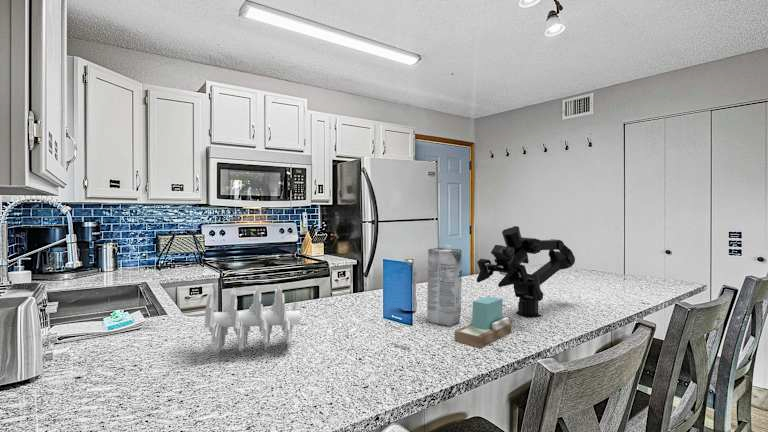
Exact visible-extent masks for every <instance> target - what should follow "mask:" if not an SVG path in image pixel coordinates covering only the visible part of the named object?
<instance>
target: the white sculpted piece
mask: <svg viewBox="0 0 768 432" xmlns="http://www.w3.org/2000/svg"><path fill="white" fill-rule="evenodd" d="M258 287H259V285H255V290H253V301H252V303H251V305H250V306H249V307H248V308H249V309H248V310H247V311H238V298H237V291H236V288H235V287H232V289H231V293H230V301H229V305H228V307H226V311H214V297H213V294H214V293H213V289H212V287H209V289H208V290H209V291H208V294H207V295H208V296H207V300H206V304H205V310H204V312H205V314H204V328H205V329H206V328H208V329H209V331H208V332H209V333H211V334H210V336H211V338H210V342H211V343H210V344H213V351H216V356H219V355H220V352H222V350H223V347H225V346H226V345H225V344H226V338H227V337H226V336H227V335H229V334H228V333H229V328H233V332H235V335H236V345H238V351H240V354H243V353H244V350H245V349H246V344H248V337H249V335H248V334H249V333H250V331H251V327H258V328H259V330H258V331H259V332H260V335H261V336H262V337H263V339H262V341H263V342H262V343H263V344H264V351H267V348H268V347H269V344H270V341H271V334H272V331H273V326H275V327H276V326H280V327H281V331H283V334H284V337H285V338H286V340H285V341H286V349H290V346H291V342H292V333H293V332H292V331H293V327H294V326H295V325H296V326H298V325H300V321H301V311H300V310H297V309H298V302H297V301H294V302H293V303H292V307H291V308H290V310H287V305H286V304H285V301H286V300H285V293H284V292H283V289H282V287H281V284H278V285H277V288H275V289H274V300H273V303H272V305H270V306H271V307H270V310H264V304H263V303H262V292H260V288H258Z"/></svg>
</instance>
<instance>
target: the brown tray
mask: <svg viewBox="0 0 768 432" xmlns="http://www.w3.org/2000/svg"><path fill="white" fill-rule="evenodd" d="M469 322H470V323H469V324H468V325H465V326H463V327H460V328H458V329H456V330H454V342H458V343H461V344H465V345H467V346H468V345H469V346H472V347H476V348H480V349H482V348H484V347H486V346H488V345H489V344H491V343H493V342H495V341H498V340H499V339H501V338H503V337H505V336H507V335H509V334H510V333H512V331H513V330H512V328H513V325H512V324H513V323H512V322H510V318H509V317H506V316H505V317H502V319H501V320H498V321H496V322H494V323H492V328H491V329H489V330H484V329H479V328H475V327H472V317H470V319H469Z"/></svg>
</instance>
